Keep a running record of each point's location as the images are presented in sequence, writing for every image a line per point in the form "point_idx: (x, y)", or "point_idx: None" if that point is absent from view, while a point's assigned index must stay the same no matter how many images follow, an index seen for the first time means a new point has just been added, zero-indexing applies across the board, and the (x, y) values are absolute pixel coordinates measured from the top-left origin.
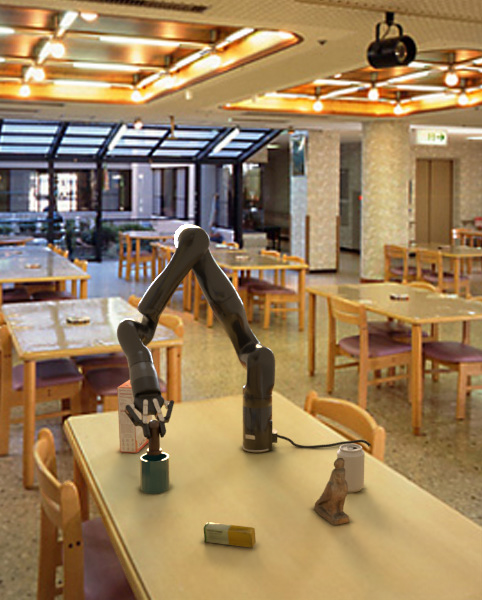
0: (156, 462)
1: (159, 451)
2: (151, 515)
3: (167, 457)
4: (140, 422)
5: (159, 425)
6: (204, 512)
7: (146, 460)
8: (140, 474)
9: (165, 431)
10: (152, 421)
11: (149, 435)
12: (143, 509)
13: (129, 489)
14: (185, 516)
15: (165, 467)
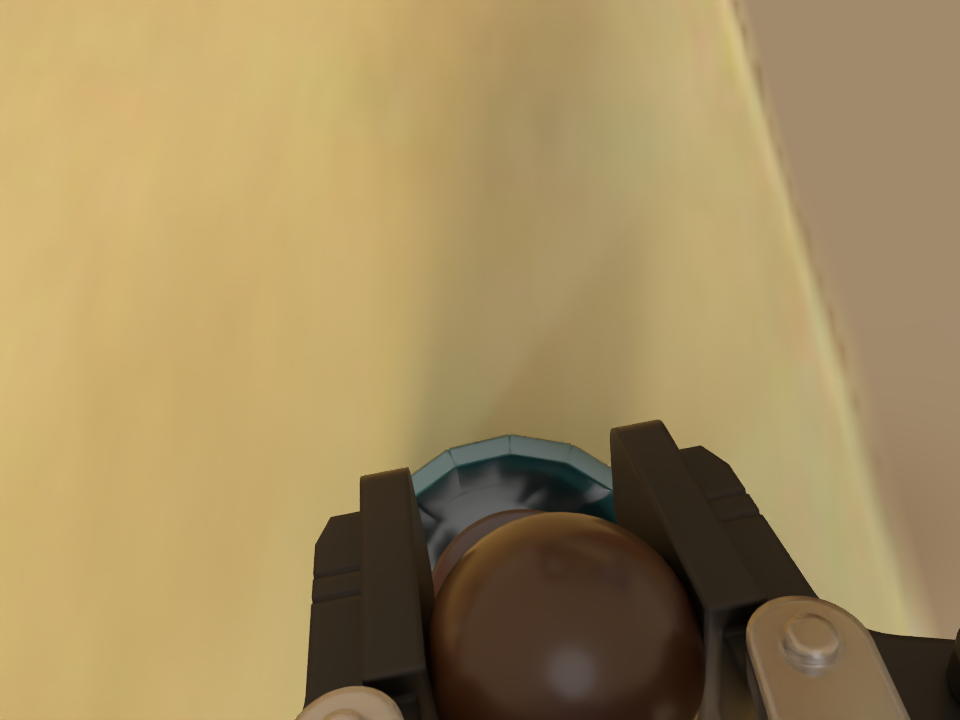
0: (501, 438)
1: (460, 533)
2: (541, 122)
3: None
4: (914, 656)
5: (435, 601)
6: (214, 92)
7: None
8: None
9: (331, 536)
10: (610, 605)
11: (630, 425)
12: (591, 221)
13: None
14: (337, 64)
15: None
